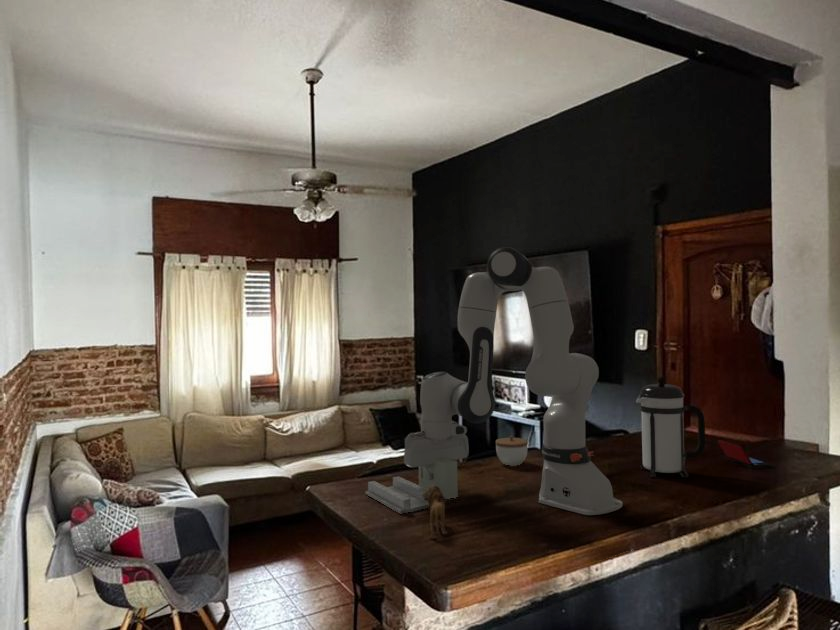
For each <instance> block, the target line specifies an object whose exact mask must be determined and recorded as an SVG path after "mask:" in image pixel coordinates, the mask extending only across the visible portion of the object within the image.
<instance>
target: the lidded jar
mask: <svg viewBox="0 0 840 630" xmlns="http://www.w3.org/2000/svg"><path fill="white" fill-rule="evenodd" d="M528 445H529V443H528V440H527V439H525V438H520V437H514V436H513V435H509V437H501V438H498V439H496V440H495V450H496V456H497V458H498V459H499V461H500V462H501V463H502V464H503V465H504V464H505V465H504V466H506V465H510V466H509V467H518V466H517V465H519V466H521V465H522V463H523V462H524V461H525V460H526V458H527V455H528ZM520 464H521V465H520Z"/></svg>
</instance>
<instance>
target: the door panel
mask: <svg viewBox="0 0 840 630" xmlns="http://www.w3.org/2000/svg"><path fill="white" fill-rule="evenodd" d="M417 468H418V485H419V486H421V487H423V488H426V489H428V488H429V486H430V485H436V486H437V487H439V489H440V491H441V492H442V494H443V496H444V498H445V499H449V500H451V499H450V498H454V499H457V498H456V497H458V498H459V493H458V492H459V491H458V488H459V487H458V485H459V484H458V483H459V482H458V461H457V460H452V459H449V458H442V459H436V460H435V463H434V464H430V468H428V470H429V471H430V473H433V480H426V475H425V472H424V470H423V469H422V466H419V467H417Z"/></svg>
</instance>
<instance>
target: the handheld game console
mask: <svg viewBox="0 0 840 630" xmlns="http://www.w3.org/2000/svg"><path fill="white" fill-rule="evenodd" d="M717 442H718V443H717V444H719V446H720V447H721V449H722V451H723V452H724V454H725V456H726V460H727V459H729V460H732V461H735V462H738V463H737V464H739V463H741V464H742V465H741V464H740V465H741V466H743V465H744V466H743V467H746V466H747V467H746V468H748V467H749V468H748V469H751V468H754V469H769V467H770V468H772V463H769V462H767V461H764V460H761V459H757V458H755V457H752V456H749V455H748V453H747V452H746V450H745V449H744V448H743V446H742V445H739V444H735V443H732V442H728V441H725V440H722V439H717ZM729 460H728V461H729ZM732 461H731V462H732ZM735 462H734V463H735Z"/></svg>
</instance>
